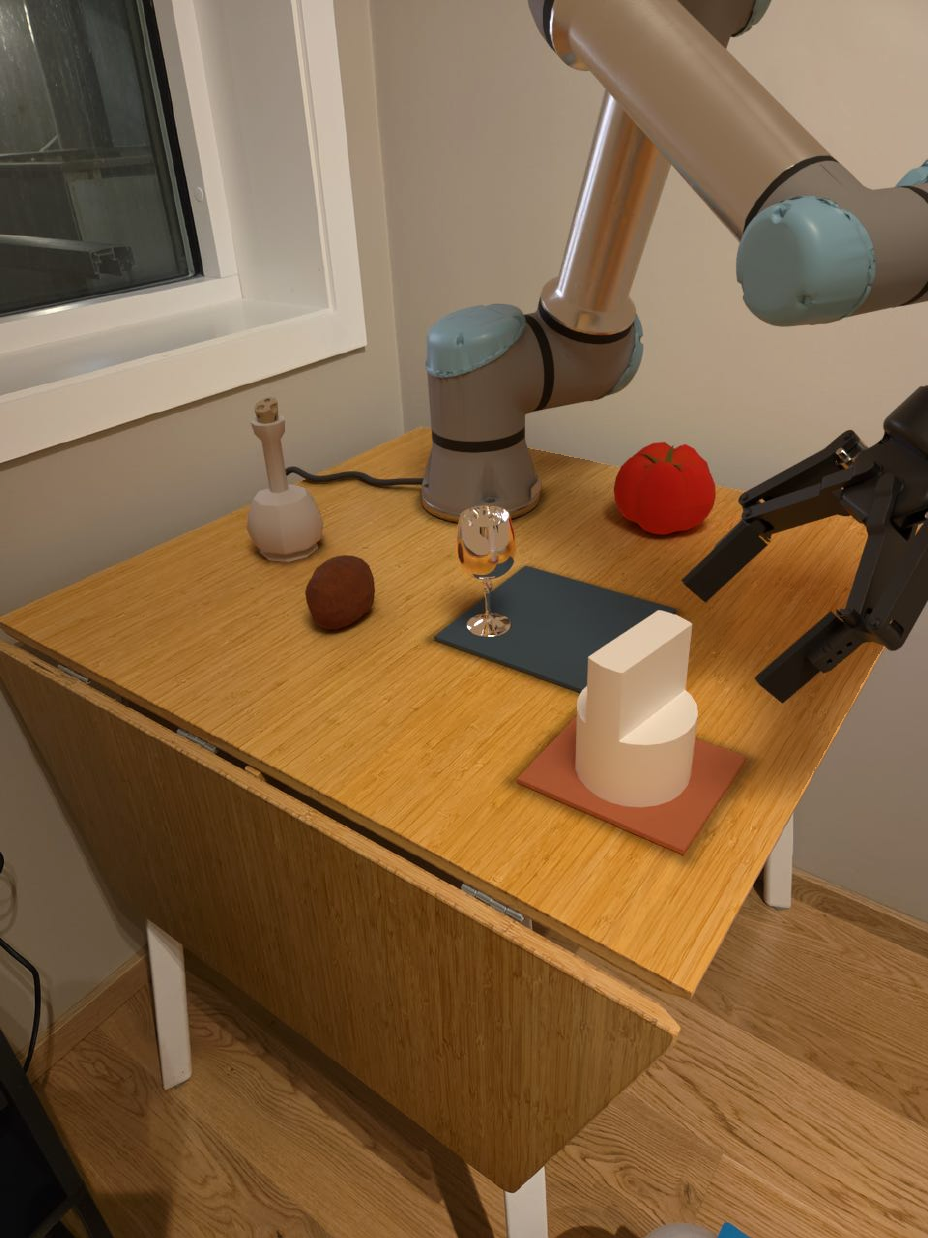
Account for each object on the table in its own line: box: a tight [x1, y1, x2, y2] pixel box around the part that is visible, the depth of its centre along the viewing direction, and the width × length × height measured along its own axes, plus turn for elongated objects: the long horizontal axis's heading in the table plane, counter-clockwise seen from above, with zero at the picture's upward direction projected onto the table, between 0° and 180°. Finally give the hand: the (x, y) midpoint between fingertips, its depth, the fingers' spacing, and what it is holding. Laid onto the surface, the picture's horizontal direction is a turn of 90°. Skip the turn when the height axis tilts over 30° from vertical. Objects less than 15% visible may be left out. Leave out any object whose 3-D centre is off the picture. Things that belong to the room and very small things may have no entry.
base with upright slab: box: [575, 610, 699, 807], centre depth 68 cm, size 9×9×12 cm
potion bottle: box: [246, 396, 324, 563], centre depth 103 cm, size 9×9×18 cm
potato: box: [304, 554, 376, 630], centre depth 92 cm, size 7×9×6 cm
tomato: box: [613, 441, 717, 536], centre depth 106 cm, size 11×12×9 cm
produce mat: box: [516, 715, 747, 856], centre depth 71 cm, size 14×12×1 cm
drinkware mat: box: [433, 565, 678, 694], centre depth 90 cm, size 18×17×1 cm
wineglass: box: [455, 505, 517, 637], centre depth 87 cm, size 6×6×12 cm
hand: (726, 637), depth 66 cm, fingers open, 13 cm apart
